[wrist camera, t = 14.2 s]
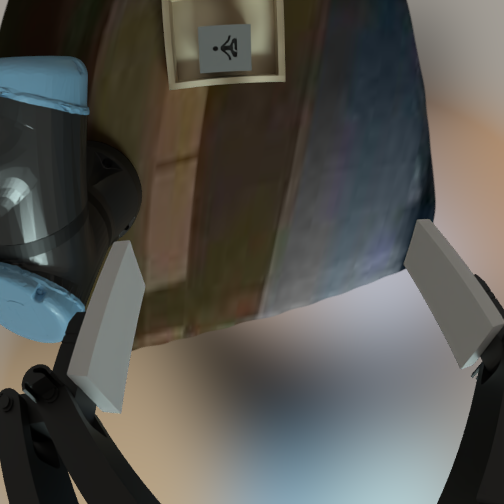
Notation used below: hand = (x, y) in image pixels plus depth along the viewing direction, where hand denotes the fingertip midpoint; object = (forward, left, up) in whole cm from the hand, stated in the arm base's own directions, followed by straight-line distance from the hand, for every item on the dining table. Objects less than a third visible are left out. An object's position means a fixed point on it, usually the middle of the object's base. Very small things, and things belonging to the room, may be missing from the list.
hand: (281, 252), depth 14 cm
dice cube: (-2, +8, -26) cm, 28 cm away
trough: (-2, +10, -27) cm, 29 cm away
